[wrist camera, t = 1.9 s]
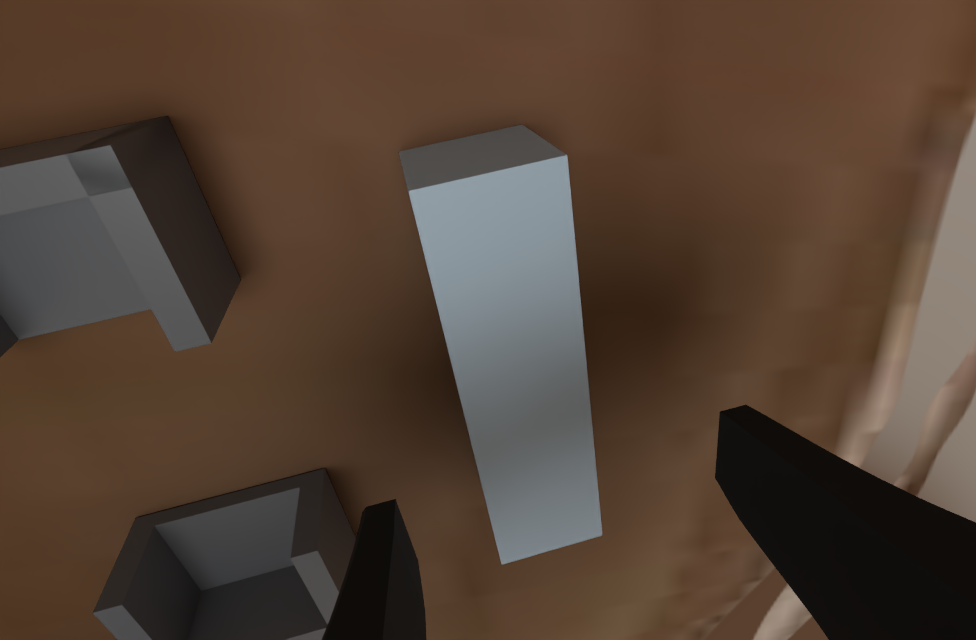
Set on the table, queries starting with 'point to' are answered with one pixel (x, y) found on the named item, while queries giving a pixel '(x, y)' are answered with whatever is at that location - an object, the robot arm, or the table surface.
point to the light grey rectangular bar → (512, 328)
